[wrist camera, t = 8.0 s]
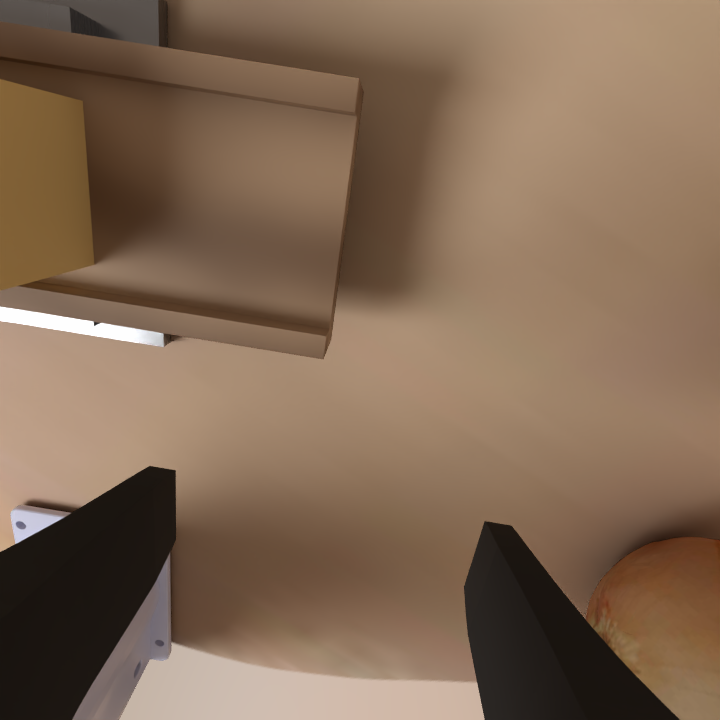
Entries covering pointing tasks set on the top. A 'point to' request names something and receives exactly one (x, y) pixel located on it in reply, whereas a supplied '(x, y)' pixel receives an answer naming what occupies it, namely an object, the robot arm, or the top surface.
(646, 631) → the onion
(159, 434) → the top surface
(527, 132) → the top surface
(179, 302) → the beam
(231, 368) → the top surface
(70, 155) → the block
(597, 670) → the robot arm
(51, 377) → the top surface
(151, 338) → the pivot stand
